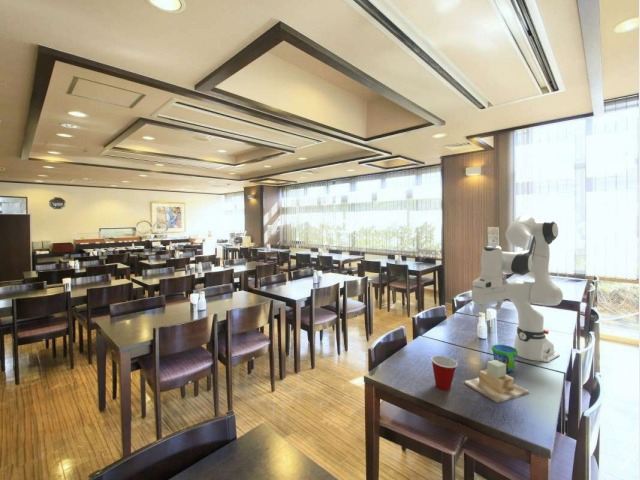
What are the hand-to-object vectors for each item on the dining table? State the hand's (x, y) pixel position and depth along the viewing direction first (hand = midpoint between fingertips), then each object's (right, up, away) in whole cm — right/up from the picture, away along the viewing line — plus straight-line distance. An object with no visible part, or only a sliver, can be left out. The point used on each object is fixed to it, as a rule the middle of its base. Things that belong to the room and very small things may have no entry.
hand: (490, 310), depth 145 cm
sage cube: (-4, -25, -11) cm, 27 cm away
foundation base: (-4, -31, -11) cm, 33 cm away
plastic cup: (-26, -31, -10) cm, 41 cm away
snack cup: (+10, -30, +6) cm, 32 cm away
